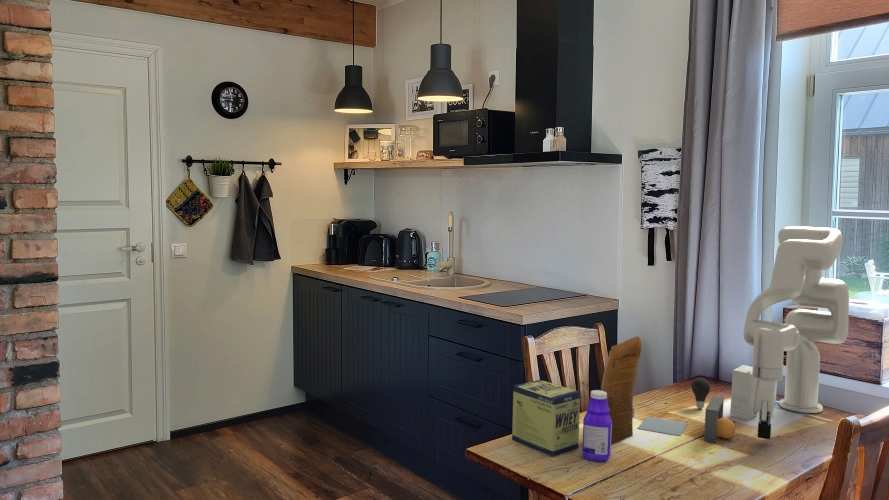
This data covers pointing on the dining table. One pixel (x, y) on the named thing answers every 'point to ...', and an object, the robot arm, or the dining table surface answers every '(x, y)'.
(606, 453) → the bottle
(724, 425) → the ball
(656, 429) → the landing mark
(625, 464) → the dining table surface
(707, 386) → the light bulb
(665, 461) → the dining table surface
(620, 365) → the pancake mix bag
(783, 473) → the dining table surface
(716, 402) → the bridge
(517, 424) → the protein box
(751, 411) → the skincare box
